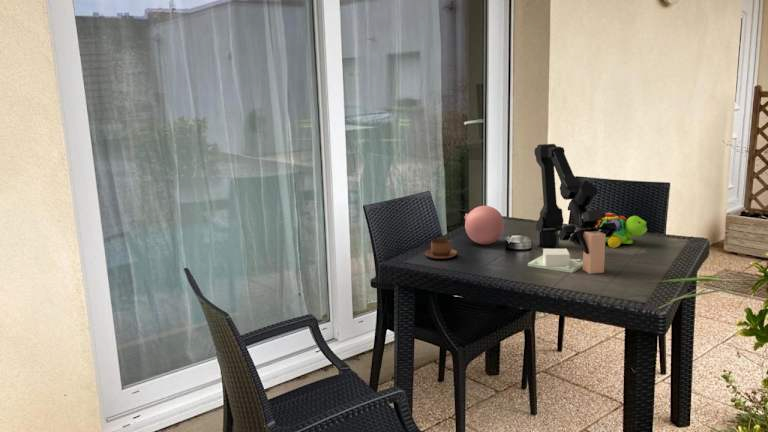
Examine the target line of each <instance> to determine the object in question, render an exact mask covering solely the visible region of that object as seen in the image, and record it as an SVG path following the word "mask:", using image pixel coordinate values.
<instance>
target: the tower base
mask: <svg viewBox="0 0 768 432" xmlns="http://www.w3.org/2000/svg"><path fill="white" fill-rule="evenodd" d="M527 267H530V268H537V269H538V268H539V269H545V270H551V271H558V272H563V273H564V272H565V273H571V274H573V273H575V272H576V271H578V270H579V269H582V268H583V259H581V258H577V259H575V258H571V254H570V252H569V250H568V249H567V248H542V255H540V256H538V257H536V258H535V259H533V260H530V261H529V262H527Z"/></svg>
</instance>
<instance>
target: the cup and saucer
mask: <svg viewBox="0 0 768 432" xmlns="http://www.w3.org/2000/svg"><path fill="white" fill-rule="evenodd" d="M451 243H452V240H451V239H447V238H433V239H431V240H430V249H427V250H425V252H424V254H425V256H426V257H428V258H431V259H436V260H445V259H452V258H453V257H455V256H456V255H457V254H458V251H457V250H456V249H453V248H452V244H451Z"/></svg>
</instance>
